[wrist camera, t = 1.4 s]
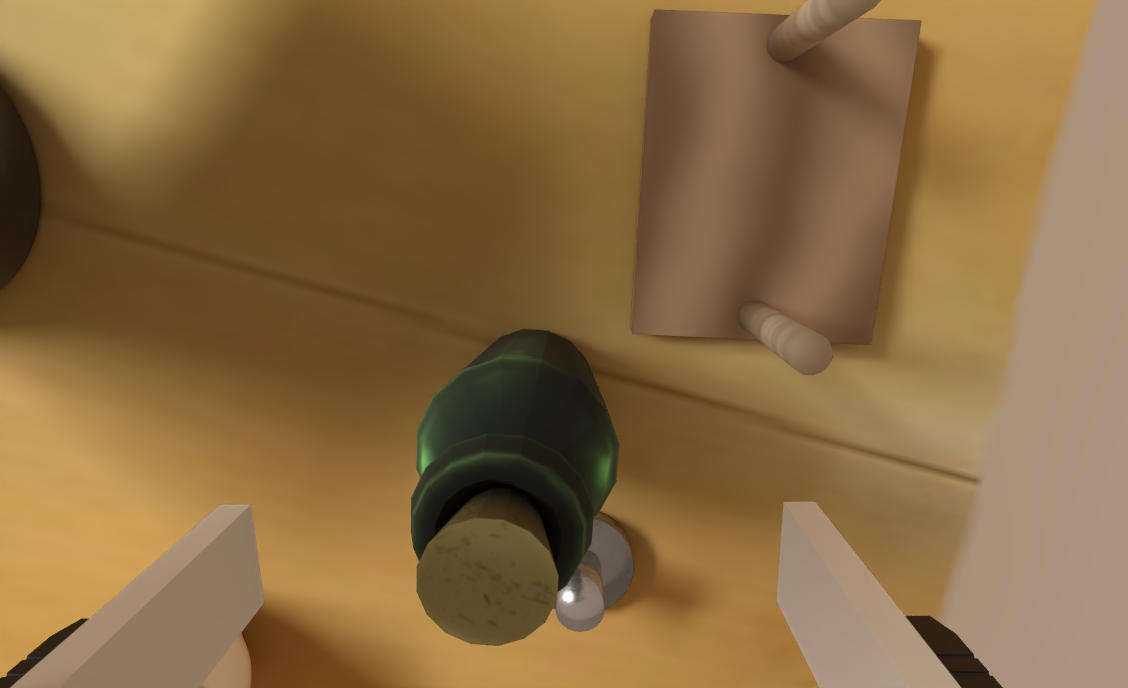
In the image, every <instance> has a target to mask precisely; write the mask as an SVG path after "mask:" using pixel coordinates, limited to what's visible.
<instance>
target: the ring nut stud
mask: <svg viewBox="0 0 1128 688" xmlns="http://www.w3.org/2000/svg"><path fill="white" fill-rule="evenodd" d="M633 571H634V563H633V556H632V550H631V545H630V541H629V539H628V536H627V534H626V533H625V531H624V530H623V528H622V527H621V526H620V525H619V524H618V523H617V522H616V521H615V520H614V519H612V518H611V517H609V516H608V515H606V514H604V513H602V512H599V513H598V515H596V516H595V517H594V520H593V533H592V543H591V545H590V547H589V549H588V550H587V552H586V554H585V556H584V558H583V559H582V561H581V563H580V565H579V567H578V568H577V570H576V572H575V574H574V575H573V577H572V578H571V580H570V581H569V583H568V584H567V586H565V587H564V588H563V589H561V590H560V591H559V592H557V601H556V603H555V605H554V607H553V608H554V609H556V614H557V617H558V619H559V621H560V622H561V624H562V625H563V626H565V627H566V628H568V629H570V630H573V631H578V632H582V631H588V630H591V629H593V628H594V627H596V626H597V625H598V624H599V623H600V622H601V620H602V618H603V615H604V610H605V609H607V608H608V607H610V606H612V605H613V604H615V603H616V602H617V601H618V600H619V599H620V598H621V597H622V596H623V595H624V594H625V592H626V591H627V589H628V588H629V585H630V583H631V580H632V577H633Z"/></svg>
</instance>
